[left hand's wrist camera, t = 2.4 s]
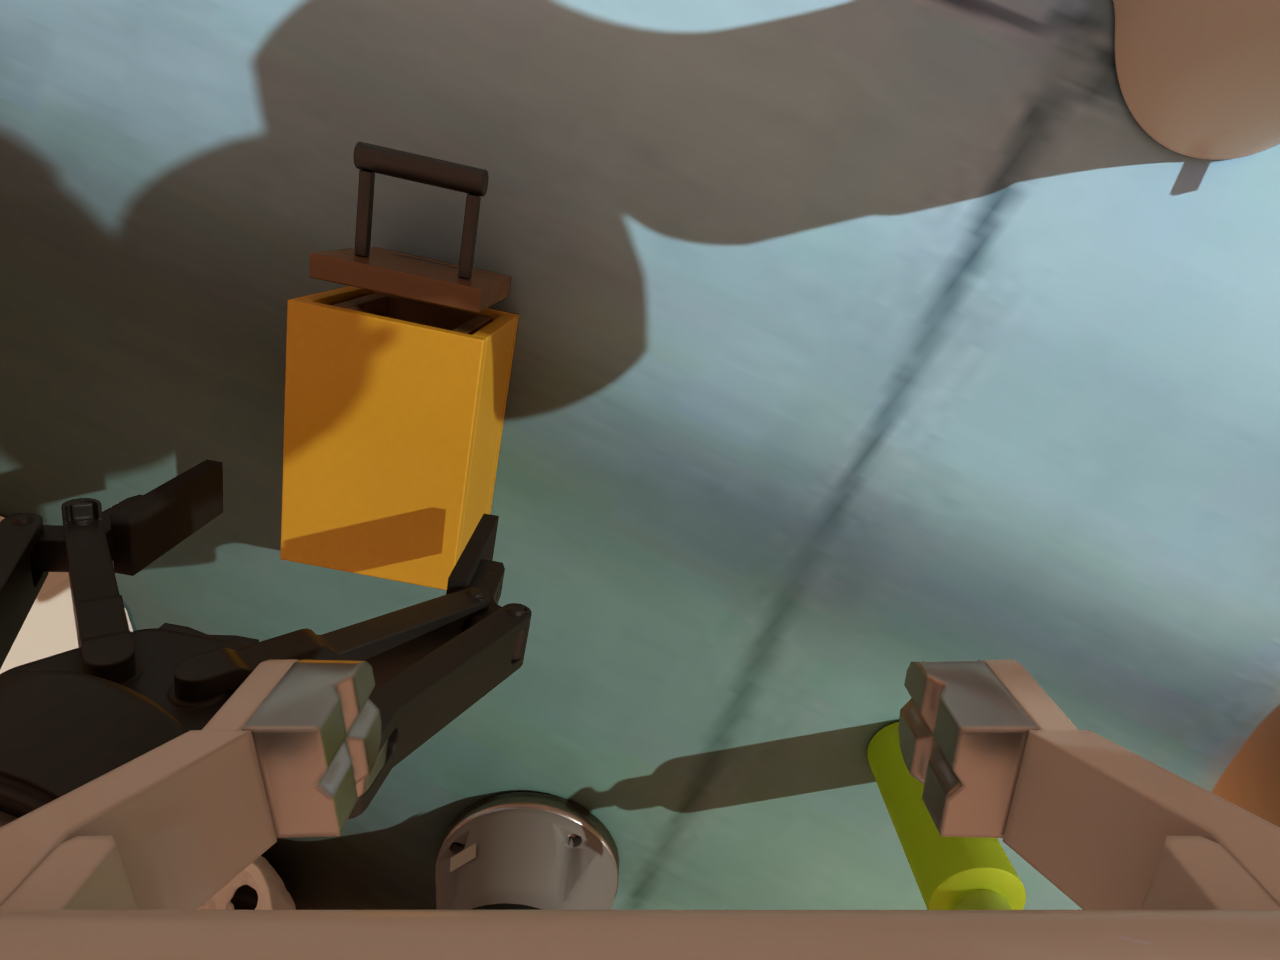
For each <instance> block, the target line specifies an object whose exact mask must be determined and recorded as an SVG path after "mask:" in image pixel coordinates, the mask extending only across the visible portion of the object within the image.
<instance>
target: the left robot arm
mask: <svg viewBox="0 0 1280 960" xmlns="http://www.w3.org/2000/svg"><path fill="white" fill-rule="evenodd" d="M1113 3H1114V11H1115V46H1114V49H1115V64H1116V71H1117V76H1118V81H1119V85H1120V89H1121V92H1122V94H1123V97H1124V100H1125V102H1126V104H1127V106H1128V108H1129V110H1130V112H1131V113H1132V115H1133V117H1134V118H1135V120H1136V121H1137V122H1138V124H1139V125H1140V126H1141V127H1142V128H1143V130H1144V131H1145V132H1146V133H1147V134H1148V135H1149V136H1151V137H1152V138H1153V139H1154V140H1156V141H1157V142H1158V143H1160V144H1161V145H1163V146H1164V147H1166V148H1168V149H1170V150H1172V151H1174V152H1177V153H1179V154H1182V155H1185V156H1189V157H1193V158H1198V159H1207V160H1225V159H1234V158H1239V157H1244V156H1248V155H1252V154H1255V153H1258V152H1261V151H1264V150H1266V149H1269V148H1271V147H1274V146H1276V145H1278V144H1280V0H1113ZM374 687H375V680H374V675H373V670H372V666H371V665H370V664H369V663H368V662H367V661H342V660H267V661H264V662H261V663H260V664H259V665H258V666H257V667H256V668H255V669H254V670H253V672H252V673H251V674H250V675H249V676H248V677H247V678H246V680H245V681H244V682H243V683H242V684H241V685H240V687H239V688H238V689H237V690H236V691H235V692H234V693H233V695H232V696H231V697H230V698H229V699H228V700H227V701H226V703H225V704H224V705H223V706H222V707H221V708H220V709H219V711H218V712H217V713H216V714H215V715H214V716H213V718H212V719H211V720H210V721H209V722H208V723H207V724H206V726H205V727H204V728H203V729H202V730H190V731H188V732H186V733H184V734H182V735H180V736H178V737H177V738H175V739H173V740H171V741H169V742H167V743H165V744H163V745H161V746H159V747H157V748H155V749H153V750H151V751H149V752H147V753H145V754H143V755H141V756H139V757H137V758H135V759H133V760H132V761H130V762H128V763H126V764H124V765H122V766H120V767H118V768H116V769H114V770H112V771H110V772H108V773H106V774H104V775H102V776H100V777H98V778H96V779H94V780H92V781H90V782H88V783H86V784H85V785H83V786H81V787H79V788H77V789H75V790H73V791H71V792H69V793H67V794H65V795H63V796H61V797H59V798H57V799H55V800H53V801H51V802H49V803H47V804H45V805H43V806H41V807H40V808H38V809H36V810H34V811H32V812H30V813H28V814H26V815H24V816H22V817H20V818H18V819H16V820H14V821H12V822H10V823H8V824H6V825H4V826H2V827H0V960H1280V828H1279V827H1277V826H1275V825H1273V824H1271V823H1269V822H1267V821H1265V820H1263V819H1262V818H1260V817H1258V816H1256V815H1254V814H1252V813H1250V812H1248V811H1246V810H1244V809H1242V808H1240V807H1238V806H1236V805H1234V804H1232V803H1230V802H1228V801H1226V800H1224V799H1222V798H1221V797H1219V796H1217V795H1215V794H1213V793H1211V792H1209V791H1207V790H1205V789H1203V788H1201V787H1199V786H1197V785H1195V784H1193V783H1191V782H1189V781H1187V780H1185V779H1183V778H1181V777H1180V776H1178V775H1176V774H1174V773H1172V772H1170V771H1168V770H1166V769H1164V768H1162V767H1160V766H1158V765H1156V764H1154V763H1152V762H1150V761H1148V760H1146V759H1144V758H1142V757H1141V756H1139V755H1137V754H1135V753H1133V752H1131V751H1129V750H1127V749H1125V748H1123V747H1121V746H1119V745H1117V744H1115V743H1113V742H1111V741H1109V740H1107V739H1105V738H1103V737H1101V736H1100V735H1098V734H1096V733H1094V732H1092V731H1090V730H1078V729H1077V728H1076V727H1075V726H1074V724H1073V723H1072V722H1071V721H1070V720H1069V719H1068V718H1067V716H1066V715H1065V714H1064V713H1063V712H1062V711H1061V710H1060V708H1059V707H1058V706H1057V705H1056V704H1055V703H1054V701H1053V700H1052V699H1051V698H1050V697H1049V696H1048V695H1047V693H1046V692H1045V691H1044V690H1043V689H1042V688H1041V687H1040V685H1039V684H1038V683H1037V682H1036V681H1035V680H1034V679H1033V677H1032V676H1031V675H1030V674H1029V673H1028V672H1027V671H1026V669H1025V668H1024V667H1023V666H1022V665H1021V664H1020V663H1019V662H1017V661H1015V660H1013V659H999V660H978V661H938V662H911V663H910V665H909V668H908V670H907V673H906V679H905V687H906V689H907V690H908V692H909V694H910V696H911V699H910V701H909V702H908V703H907V704H906V705H905V706H904V707H903V708H902V709H901V710H900V718H899V727H898V731H899V742H900V749H901V752H902V756H903V759H904V762H905V764H906V767H907V769H908V771H909V773H910V775H912V776H913V777H914V778H916V779H917V780H919V781H920V782H921V783H923V784H924V789H923V795H922V800H923V802H924V804H925V806H926V808H927V810H928V812H929V814H930V816H931V818H932V820H933V822H934V824H935V826H936V828H937V830H938V832H939V834H940V836H949V837H984V838H1003V842H1004V843H1006V844H1007V845H1008V846H1009V847H1010V848H1011V849H1013V850H1014V851H1015V852H1016V853H1017V854H1019V855H1020V856H1021V857H1022V858H1023V859H1024V860H1026V861H1027V862H1028V863H1029V864H1030V865H1031V866H1033V867H1034V868H1035V869H1036V870H1037V871H1038V872H1040V873H1041V874H1042V875H1043V876H1044V877H1046V878H1047V879H1048V880H1049V881H1050V882H1051V883H1053V884H1054V885H1055V886H1056V887H1057V888H1058V889H1060V890H1061V891H1062V892H1063V893H1064V894H1065V895H1067V896H1068V897H1069V898H1070V899H1071V900H1073V901H1074V902H1075V903H1076V904H1077V905H1078V906H1080V907H1081V908H1082V909H1083V910H197V909H198V908H199V907H201V906H202V905H203V904H204V903H205V902H206V901H208V900H209V899H210V898H211V897H212V896H214V895H215V894H216V893H217V892H218V891H219V890H221V889H222V888H223V887H224V886H225V885H226V884H228V883H229V882H230V881H231V880H232V879H234V878H235V877H236V876H237V875H238V874H239V873H241V872H242V871H243V870H244V869H245V868H246V867H248V866H249V865H250V864H251V863H252V862H254V861H255V860H256V859H257V858H258V857H259V856H261V855H262V854H263V853H264V852H265V851H266V850H268V849H269V848H270V847H271V846H272V845H274V844H275V843H276V842H277V838H295V837H329V836H340V834H341V832H342V830H343V828H344V826H345V824H346V822H347V820H348V818H349V816H350V814H351V812H352V810H353V808H354V806H355V804H356V802H357V800H358V795H357V789H356V784H357V783H359V782H360V781H361V780H363V779H364V778H366V777H367V776H368V775H370V773H371V771H372V769H373V766H374V764H375V762H376V760H377V756H378V752H379V747H380V742H381V717H380V710H379V709H378V708H377V707H376V706H375V705H374V704H373V703H372V702H371V701H370V700H369V696H370V694H371V692H372V690H373V689H374Z"/></svg>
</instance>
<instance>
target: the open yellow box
mask: <svg viewBox="0 0 1280 960" xmlns="http://www.w3.org/2000/svg"><path fill="white" fill-rule="evenodd" d="M375 293H379V292H377V291H372V290H368V289H363V288H358V287H353V286H347V287H342V288H338V289H333V290H329V291H325V292H320V293H316V294H311V295H307V296H302V297H298V298H294V299H290V300H288V307H287V343H286V378H285V414H284V449H283V485H282V520H281V556H280V558H281V559H283V560H288V561H293V562H299V563H304V564H309V565H315V566H320V567H325V568H331V569H336V570H341V571H347V572H352V573H357V574H363V575H368V576H373V577H379V578H384V579H390V580H395V581H400V582H406V583H411V584H416V585H422V586H427V587H432V588H438V589H443V590H447V585H448V578H449V576H450V574H451V572H452V570H453V569H454V567H455V565H456V563H457V561H458V559H459V558H460V556H461V554H462V552H463V550H464V549H465V547H466V545H467V543H468V541H469V539H470V538H471V536H472V534H473V532H474V530H475V529H476V527H477V525H478V523H479V521H480V519H481V518H482V516H483V514H490V513H491V506H492V499H493V492H494V485H495V478H496V471H497V464H498V458H499V451H500V444H501V437H502V430H503V423H504V416H505V409H506V402H507V395H508V388H509V381H510V374H511V367H512V361H513V354H514V347H515V340H516V333H517V326H518V319H519V314H513V313H508V312H503V311H499V310H494V309H489V308H486V309H484V310H483V311H481V312H479V314H484V315H489V316H492V317H493V321H492V322H491V323H489V324H488V325H486V326H485V327H483V328H482V329H480V330H479V331H477V332H476V333H474V334H473V335H470V334H465V333H460V332H455V331H451V330H446V329H441V328H436V327H431V326H427V325H422V324H417V323H412V322H408V321H403V320H398V319H393V318H389V317H384V316H379V315H374V314H369V313H365V312H360V311H355V310H350V309H346V308H341V307H336V306H331V305H334V304H338V303H342V302H345V301H349V300H353V299H356V298H360V297H364V296H367V295H371V294H375ZM380 293H382V292H380ZM385 294H386V293H385ZM389 295H391V294H389ZM394 296H396V295H394ZM399 297H401V296H399ZM404 298H405V297H404ZM408 299H410V298H408ZM413 300H415V299H413ZM418 301H419V300H418ZM422 302H424V301H422ZM427 303H429V302H427ZM432 304H434V303H432ZM437 305H438V304H437ZM441 306H443V305H441ZM446 307H448V306H446ZM451 308H453V307H451ZM456 309H457V308H456ZM460 310H462V309H460ZM465 311H467V310H465ZM470 312H471V311H470ZM474 313H476V312H474Z"/></svg>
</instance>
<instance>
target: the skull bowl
mask: <svg viewBox="0 0 1280 960" xmlns="http://www.w3.org/2000/svg"><path fill="white" fill-rule="evenodd" d="M243 885H249V886H250V887H252V888H254V889H255V890H256V892H257V895H258V903H257V906H256V908H255V910H295V908H296V907H295V903H294V901H293V899H292V897H291V896H290V893H289V892H288V891H287V890H286V888H285V885H284V883H283V881H282V879H281V878H280V876H279V875H278V874H277V872H276V871H275V870H274V868H273V867H272V866H271V865H270V864H269V862H268V861H267V860H266V859H265V858H264V857H262V856H259V857H258V858H257V859H256V860H255V861H254V862H252V863H251V864H250V865H249V866H248V867H246V868H245V869H244V870H243V871H242V872H241V873H239V874H238V875H237V876H236V877H235V878H234V879H232V880H231V881H230V882H229V883H228V884H226V885H225V886H224V887H223V888H222V889H221V890H219V891H218V892H217V893H216V894H215V895H214V896H212V897H211V898H210V899H209V900H208V901H206V902H205V903H204V904H203V905H202V906H201V907H199V908H198V909H197V910H235V909H234V905H233V904H232V902H231V901H230V900H231V899H232V898H233V896H234V893H235V891H236V890H237V889H238V888H239V887H240V886H243Z"/></svg>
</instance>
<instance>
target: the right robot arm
mask: <svg viewBox="0 0 1280 960" xmlns="http://www.w3.org/2000/svg"><path fill="white" fill-rule="evenodd" d="M61 507H62V517H63V526H53V525H43V520H42V517H41V516H40V515H36V514H28V513H25V514H22V513H19V514H14V515H11V516H8V517H6V518H4V519H3V520H2V521H1V522H0V669H1V667H2V665H3V663H4V661H5V659H6V657H7V655H8V653H9V651H10V649H11V647H12V645H13V643H14V641H15V639H16V637H17V635H18V633H19V631H20V629H21V627H22V625H23V623H24V621H25V619H26V618H27V616H28V614H29V612H30V610H31V608H32V606H33V604H34V602H35V600H36V598H37V596H38V594H39V592H40V590H41V588H42V586H43V584H44V582H45V580H46V578H47V576H48V572H68V573H69V582H70V589H71V596H72V603H73V611H74V618H75V625H76V633H77V640H78V647H79V648H76V649H72V650H69V651H66V652H63V653H59V654H56V655H53V656H49V657H46V658H43V659H39V660H36V661H33V662H30V663H26V664H23V665H20V666H17V667H14V668H12V669H9V670H7V671H5V672H3V673H1V674H0V827H2V826H4V825H6V824H8V823H10V822H12V821H14V820H16V819H18V818H20V817H22V816H24V815H26V814H28V813H30V812H32V811H34V810H36V809H38V808H40V807H41V806H43V805H45V804H47V803H49V802H51V801H53V800H55V799H57V798H59V797H61V796H63V795H65V794H67V793H69V792H71V791H73V790H75V789H77V788H79V787H81V786H83V785H85V784H86V783H88V782H90V781H92V780H94V779H96V778H98V777H100V776H102V775H104V774H106V773H108V772H110V771H112V770H114V769H116V768H118V767H120V766H122V765H124V764H126V763H128V762H130V761H132V760H133V759H135V758H137V757H139V756H141V755H143V754H145V753H147V752H149V751H151V750H153V749H155V748H157V747H159V746H161V745H163V744H165V743H167V742H169V741H171V740H173V739H175V738H177V737H178V736H180V735H182V734H184V733H186V732H188V731H190V730H202V729H203V728H204V727H205V726H206V724H207V723H208V722H209V721H210V720H211V719H212V718H213V716H214V715H215V714H216V713H217V712H218V711H219V709H220V708H221V707H222V706H223V705H224V704H225V703H226V701H227V700H228V699H229V698H230V697H231V696H232V695H233V693H234V692H235V691H236V690H237V689H238V688H239V687H240V685H241V684H242V683H243V682H244V681H245V680H246V678H247V677H248V676H249V675H250V674H251V673H252V672H253V670H254V669H255V668H256V667H257V666H258V665H259V664H260V663H261V662H264V661H267V660H342V661H367V662H368V663H369V664H370V665H371V666H372V670H373V675H374V680H375V687H374V689H373V690H372V692H371V694H370V696H369V700H370V701H371V702H372V703H373V704H374V705H375V706H376V707H377V708H378V709H379V710H380V717H381V742H380V747H379V752H378V756H377V760H376V762H375V764H374V766H373V769H372V771H371V773H370V775H368V776H367V777H366V778H364V779H363V780H361V781H360V782H359V783H357V784H356V789H357V795H358V800H357V802H356V804H355V806H354V808H353V810H352V812H351V814H350V816H349V818H348V819H350V818H354V817H356V816H358V815H360V814H362V813H363V812H364V810H365V809H366V808H367V807H368V805H369V804H370V802H371V801H372V799H373V797H374V796H375V794H376V793H377V791H378V790H379V788H380V786H381V785H382V783H383V782H384V780H385V778H386V777H387V775H388V774H389V772H390V771H391V769H392V768H393V767H394V766H395V765H396V764H398V763H399V762H400V761H401V760H403V759H404V758H405V757H407V756H408V755H409V754H410V753H412V752H413V751H414V750H415V749H417V748H418V747H419V746H421V745H422V744H423V743H424V742H426V741H427V740H428V739H430V738H431V737H432V736H433V735H435V734H436V733H437V732H438V731H440V730H441V729H442V728H444V727H445V726H446V725H447V724H449V723H450V722H451V721H452V720H454V719H455V718H456V717H458V716H459V715H460V714H461V713H463V712H464V711H465V710H467V709H468V708H469V707H470V706H472V705H473V704H474V703H475V702H477V701H478V700H479V699H481V698H482V697H483V696H484V695H486V694H487V693H488V692H489V691H491V690H492V689H493V688H495V687H496V686H497V685H498V684H500V683H501V682H502V681H503V680H505V679H506V678H507V677H509V676H510V675H511V674H512V673H514V672H515V671H516V670H518V669H519V668H520V667H521V666H522V664H523V659H524V653H525V648H526V643H527V637H528V631H529V626H530V619H531V610H530V609H529V608H528V607H526V606H524V605H522V604H516V603H513V604H507V605H505V606H503V607H501V606H499V605H498V604H497V603H498V601H499V598H500V596H501V590H502V583H503V577H504V570H505V568H504V566H503V563H500V562H495V561H492V559H493V552H494V545H495V538H496V532H497V525H498V518H499V516H495V515H490V514H483V516H482V518H481V519H480V521H479V523H478V525H477V527H476V529H475V530H474V532H473V534H472V536H471V538H470V539H469V541H468V543H467V545H466V547H465V549H464V550H463V552H462V554H461V556H460V558H459V559H458V561H457V563H456V565H455V567H454V569H453V570H452V572H451V574H450V576H449V578H448V585H447V593H446V595H444V596H441V597H438V598H435V599H432V600H429V601H426V602H422V603H419V604H416V605H413V606H410V607H407V608H404V609H401V610H398V611H394V612H391V613H388V614H385V615H382V616H379V617H376V618H373V619H370V620H367V621H363V622H360V623H357V624H354V625H351V626H348V627H345V628H342V629H339V630H335V631H332V632H329V633H326V634H323V635H316V634H315V633H314V632H313V631H312V630H310V629H301V630H297V631H294V632H291V633H288V634H284V635H281V636H278V637H275V638H271V639H268V640H265V641H262V642H259V640H257V639H252V638H246V637H241V636H231V635H207V634H205V633H202V632H200V631H197V630H194V629H192V628H189V627H185V626H180V625H174V624H168V623H164V624H163V625H162V626H161V627H160V628H154V629H143V630H137V631H132V632H131V631H130V630H129V626H128V621H127V617H126V613H125V608H124V604H123V600H122V596H121V595H119V591H118V586H117V582H116V578H115V573H120V574H126V575H131V576H133V575H135V574H136V573H138V572H139V571H140V570H142V569H143V568H145V567H146V566H148V565H149V564H150V563H152V562H153V561H155V560H156V559H157V558H159V557H160V556H162V555H163V554H164V553H166V552H167V551H169V550H170V549H172V548H173V547H174V546H176V545H177V544H179V543H180V542H181V541H183V540H184V539H186V538H187V537H189V536H190V535H191V534H193V533H194V532H196V531H197V530H198V529H200V528H201V527H203V526H204V525H205V524H207V523H208V522H210V521H211V520H213V519H214V518H215V517H217V516H218V515H220V514H221V513H222V512H223V469H222V462H217V461H212V460H205V461H203V462H202V463H200V464H198V465H196V466H194V467H193V468H191V469H189V470H187V471H186V472H184V473H182V474H180V475H178V476H177V477H175V478H173V479H171V480H170V481H168V482H166V483H164V484H163V485H161V486H159V487H157V488H155V489H154V490H152V491H150V492H148V493H147V494H145V495H137V496H133V497H130V498H127V499H125V500H123V501H121V502H120V503H119V504H116V505H114V506H112V508H109V509H107V510H105V511H103V512H102V509H101V503H100V501H98V500H96V499H90V498H79V499H72V500H69V501H66V502H65V503H63V504H62V506H61ZM113 560H114V569H113V564H112V561H113ZM114 572H115V573H114ZM435 872H436V873H435V879H436V910H610V909H611V906H612V904H613V901H614V898H615V896H616V892H617V888H618V873H619V856H618V851H617V847H616V845H615V842H614V840H613V838H612V836H611V834H610V833H609V831H608V830H607V828H606V827H605V826H604V825H603V824H602V823H601V822H600V821H599V820H598V819H597V818H596V817H595V816H594V815H593V814H591V813H590V812H588V811H587V810H585V809H584V808H582V807H580V806H579V805H577V804H575V803H573V802H570V801H568V800H565V799H563V798H560V797H556V796H553V795H548V794H543V793H535V792H513V793H505V794H500V795H495V796H492V797H489V798H486V799H483V800H481V801H479V802H477V803H475V804H473V805H471V806H470V807H468V808H467V809H465V810H464V811H463V812H461V813H460V814H459V815H458V816H457V817H456V818H455V819H454V820H453V822H452V823H451V824H450V826H449V827H448V829H447V831H446V833H445V835H444V838H443V841H442V844H441V847H440V850H439V853H438V856H437V860H436V869H435Z"/></svg>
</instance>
